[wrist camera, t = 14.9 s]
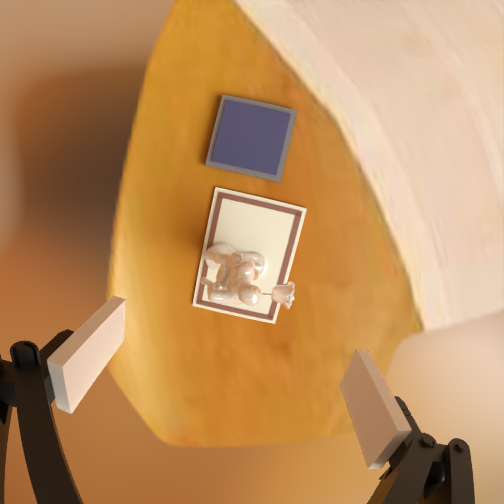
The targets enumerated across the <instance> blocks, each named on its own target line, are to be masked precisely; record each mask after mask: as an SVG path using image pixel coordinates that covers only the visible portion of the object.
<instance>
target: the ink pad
mask: <svg viewBox="0 0 504 504" xmlns="http://www.w3.org/2000/svg"><path fill="white" fill-rule="evenodd" d="M296 115H297V110H293V109H289V108H285V107H281V106H277V105H273V104H268V103H264V102H259V101H254V100H250V99H245V98H239V97H234V96H229V95H222V99H221V103H220V106H219V110H218V114H217V118H216V122H215V126H214V130H213V134H212V138H211V142H210V147H209V151H208V155H207V159H206V164H205V166H208V167H213V168H218V169H223V170H227V171H232V172H237V173H241V174H246V175H250V176H254V177H259V178H263V179H267V180H271V181H276V182H281V177H282V173H283V169H284V165H285V161H286V157H287V153H288V148H289V144H290V140H291V136H292V132H293V127H294V123H295V119H296Z"/></svg>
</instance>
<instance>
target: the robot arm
mask: <svg viewBox="0 0 504 504" xmlns="http://www.w3.org/2000/svg"><path fill="white" fill-rule="evenodd" d="M125 302H126V299H123V298H120V297H116V296H113V297H111V298H110V299H109V300H108V301H107V302H106V303H105V304H104V305H103V306H102V307H101V308H100V309H99V310H97V311H96V312H95V313H94V314H93V315H92V316H91V317H90V318H89V319H88V320H87V321H86V322H85V323H84V324H83V325H82V326H81V327H80V328H79V329H77V330H76V331H75V332H73V331H71V330H68V329H67V330H65V331H62V332H60V333H58V334H57V335H56V336H55V337H54V338H53V339H52V340H51V341H50V342H49V343H48V344H47V345H45V346H44V347H43V348H42V349H41V350H40V351H39V349H38V347H37V345H35V344H34V343H32V342H30V341H19V342H16V343H14V344H13V345H12V346H11V348H10V354H11V358H12V362H10V361H6V360H2V359H1V355H0V504H4V480H5V479H4V478H5V462H6V451H7V450H6V449H7V441H8V433H9V426H10V420H11V414H12V408H13V407H17V414H18V421H19V428H20V434H21V440H22V445H23V450H24V455H25V460H26V464H27V468H28V472H29V476H30V480H31V483H32V487H33V490H34V493H35V497H36V500H37V503H38V504H84V503H83V501H82V499H81V497H80V494H79V492H78V489H77V487H76V485H75V482H74V479H73V477H72V474H71V471H70V469H69V466H68V463H67V460H66V457H65V454H64V452H63V448H62V445H61V441H60V438H59V435H58V431H57V427H56V424H55V420H54V416H53V412H52V408H51V403H52V402H53V400H54V399H55V400H56V405H57V408H59V409H61V410H64V411H66V412H68V413H70V414H72V412H73V411H74V410H75V408H76V407H77V405H78V404H79V402H80V401H81V399H82V398H83V397H84V395H85V394H86V392H87V391H88V389H89V388H90V387H91V385H92V384H93V382H94V381H95V379H96V378H97V377H98V375H99V374H100V372H101V371H102V370H103V368H104V367H105V366H106V364H107V363H108V361H109V360H110V359H111V357H112V356H113V355H114V353H115V352H116V350H117V349H118V348H119V346H120V345H121V344H122V342H123V341H124V321H125ZM339 386H340V388H341V391H342V394H343V397H344V400H345V402H346V405H347V408H348V411H349V414H350V417H351V420H352V423H353V426H354V428H355V431H356V434H357V437H358V440H359V443H360V446H361V449H362V452H363V455H364V458H365V462H366V464H367V468H368V469H375V468H382V467H383V466H384V465H385V463H386V462H387V461H389V464H390V467H389V468H388V469H387V471H386V472H385V473H384V474H383V475H382V476H381V477H380V478H379V479H380V480H381V479H382V480H381V481H380V483H379V485H378V487H377V488H376V490H375V492H374V493H373V495H372V496H371V498H370V500H369V501H368V503H367V504H475V496H474V482H473V471H472V463H471V455H470V449H469V446H468V444H467V443H466V442H465V441H463V440H461V439H457V438H454V439H452V440H451V441H450V442H449V444H448V445H442V444H437V443H436V440H435V439H434V438H433V437H432V436H430V435H429V434H426V433H421V431H420V429H419V427H418V426H417V424H416V422H415V420H414V419H413V417H412V416H411V413H410V411H409V410H408V408H407V406H406V404H405V402H403V401H402V400H401V399H400V398H399V397H397V396H393V394H392V392H391V390H390V388H389V387H388V385H387V383H386V381H385V379H384V378H383V376H382V374H381V372H380V371H379V369H378V367H377V365H376V364H375V362H374V360H373V358H372V357H371V355H370V353H369V351H368V350H361V349H356V351H355V354H354V356H353V358H352V360H351V362H350V364H349V367H348V369H347V371H346V373H345V375H344V377H343V379H342V381H341V383H340V385H339ZM417 502H418V503H417Z"/></svg>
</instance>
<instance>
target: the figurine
mask: <svg viewBox="0 0 504 504" xmlns="http://www.w3.org/2000/svg"><path fill="white" fill-rule="evenodd" d="M203 258H204V259H205V261H206V264H207V266H208V267H209V268H211V269H214V270H218V272H217V275H216V280H217V281H216V282H215V283H213V282H212V281H210V280H208V279H207V278H205V277H202V278H201V284H204V285H207V294H208V299H209V301H211V302H213V303H220V304H242V303H244V304H246V305H252V306H253V305H256V304H257V303H258V302H259V301H260V298H261V297H271V299H272V300H274V301H276V302H278V303H281V304H283V305H284V306H285V307H286V308H287V309H288V310H289V307H290V306H291V305H292V301H293V299H294V297H293V293H294V286H295V283H293V282H289V283H287V284H280V285H276V286H274V287H273V288H272V293H261V290H260V288H259V287H257V286H255V285H253V281H254V280H256V279H258V278H260V277H262V276H263V275H264V274H265V272H266V270H267V268H268V262H267V260H266V258H265V257H264V256H263V255H261V254H258V253H240V252H237V251H235V250H234V249H233V248H232V247H230V246H229V245H228V244H225V243H219V244H216V245H213V246H211V247H210V248H208V249H207V251H206V252H205V253H204V254H203Z"/></svg>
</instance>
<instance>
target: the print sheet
mask: <svg viewBox="0 0 504 504" xmlns="http://www.w3.org/2000/svg"><path fill="white" fill-rule="evenodd" d="M306 210H307V208H303V207H299V206H295V205H291V204H287V203H283V202H279V201H275V200H271V199H267V198H263V197H258V196H254V195H250V194H245V193H241V192H237V191H232V190H228V189H223V188H218V187H216V188H215V192H214V197H213V202H212V206H211V211H210V216H209V221H208V225H207V230H206V235H205V240H204V245H203V250H202V256H201V261H200V266H199V272H198V277H197V283H196V288H195V294H194V300H193V305H192V306H196V307H200V308H205V309H209V310H213V311H217V312H222V313H226V314H231V315H235V316H240V317H244V318H249V319H254V320H258V321H263V322H268V323H273V324H275V321H276V318H277V315H278V311H279V308H280V305H281V303H278V302H276V301H274V300H272V299H271V297H261V298H260V301H259V302H258V303H257V304H256V305H253V306H252V305H246V304H244V303H242V304H220V303H213V302H211V301H209V299H208V294H207V285H204V284H201V278H202V277H205V278H207V279H208V280H210V281H212V282H213V283H215V282H216V281H217V280H216V275H217V272H218V270H214V269H211V268H209V267H208V266H207V264H206V261H205V259H204V258H203V254H204V253H205V252H206V251H207V249H208V248H210V247H211V246H213V245H216V244H219V243H225V244H228V245H229V246H230V247H232V248H233V249H234V250H235V251H237V252H240V253H258V254H261V255H263V256H264V257H265V258H266V260H267V262H268V268H267V270H266V272H265V274H264V275H263V276H262V277H260V278H258V279H256V280H254V281H253V285H255V286H257V287H259V288H260V290H261V293H272V288H273V287H274V286H276V285H280V284H287V280H288V277H289V273H290V270H291V266H292V262H293V259H294V255H295V251H296V248H297V244H298V240H299V237H300V233H301V229H302V225H303V221H304V218H305V214H306Z"/></svg>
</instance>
